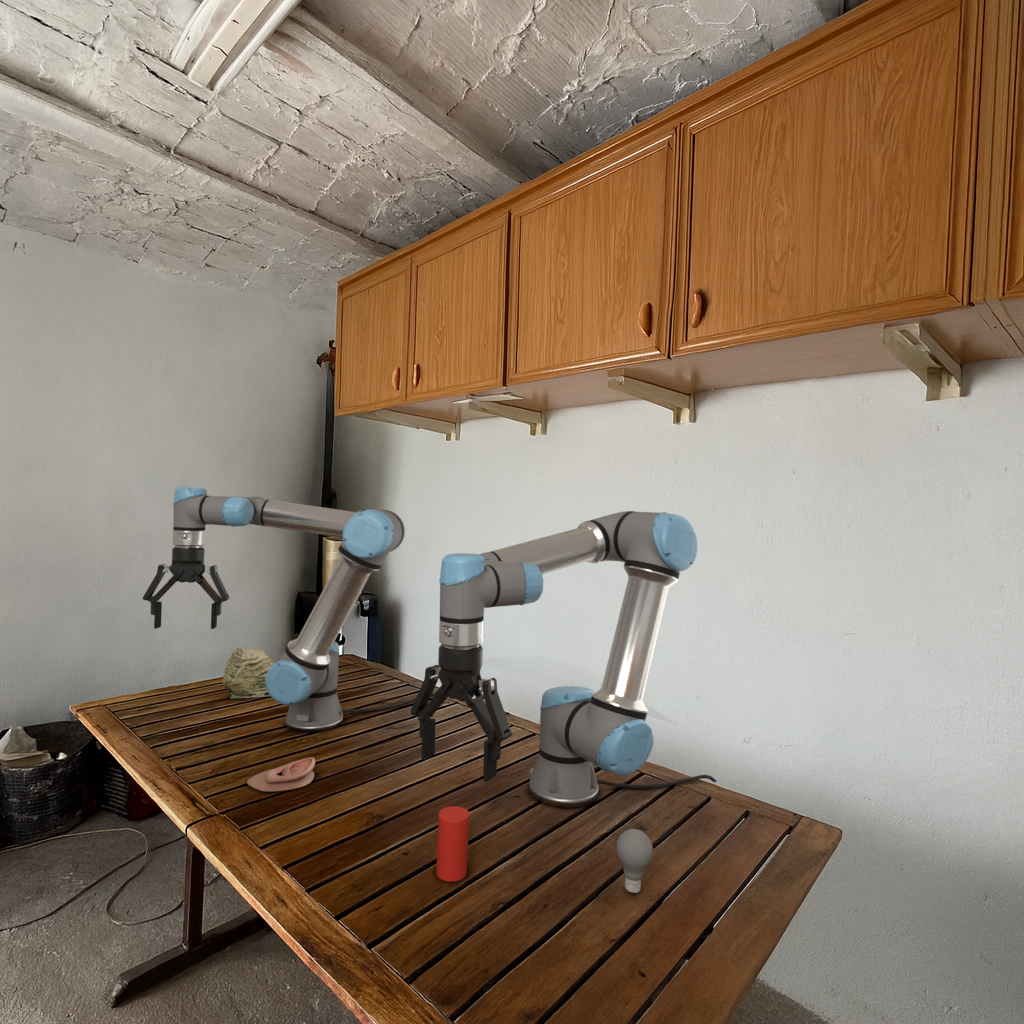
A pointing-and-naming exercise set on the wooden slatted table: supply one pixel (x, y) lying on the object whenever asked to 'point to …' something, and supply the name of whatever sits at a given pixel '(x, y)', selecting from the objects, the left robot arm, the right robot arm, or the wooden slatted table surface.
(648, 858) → the light bulb
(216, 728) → the wooden slatted table surface
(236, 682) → the fossil
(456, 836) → the cylinder
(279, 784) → the anatomical model
